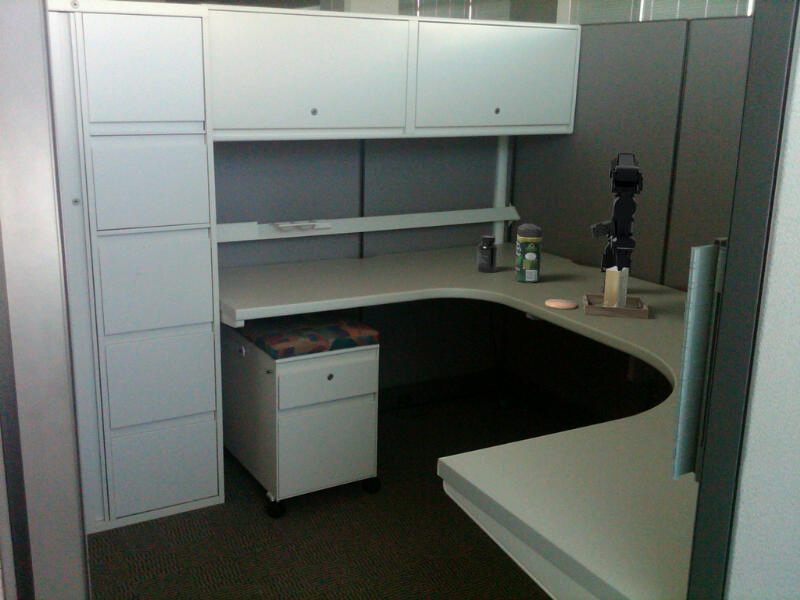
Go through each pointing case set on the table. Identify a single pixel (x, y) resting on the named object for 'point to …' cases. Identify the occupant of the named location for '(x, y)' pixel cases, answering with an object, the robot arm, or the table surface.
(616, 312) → the brown wooden frame
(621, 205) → the robot arm
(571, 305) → the peach flat disc
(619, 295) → the skincare box
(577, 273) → the table surface
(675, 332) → the table surface
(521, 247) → the coffee jar
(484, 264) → the supplement bottle
